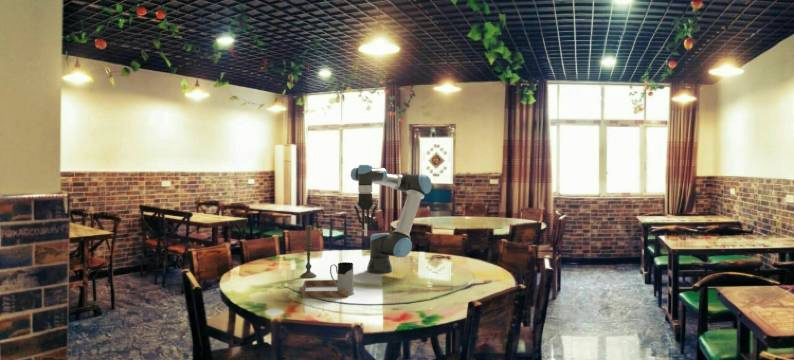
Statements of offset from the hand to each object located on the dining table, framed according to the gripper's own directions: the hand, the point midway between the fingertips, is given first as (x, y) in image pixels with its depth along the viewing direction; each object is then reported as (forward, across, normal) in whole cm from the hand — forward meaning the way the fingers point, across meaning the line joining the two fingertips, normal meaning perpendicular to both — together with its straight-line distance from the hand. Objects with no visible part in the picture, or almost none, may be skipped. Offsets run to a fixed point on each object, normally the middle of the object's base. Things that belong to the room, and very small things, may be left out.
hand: (365, 235), depth 267 cm
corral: (+25, -22, -20) cm, 38 cm away
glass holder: (+25, -14, -23) cm, 37 cm away
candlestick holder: (+25, -32, +16) cm, 44 cm away
